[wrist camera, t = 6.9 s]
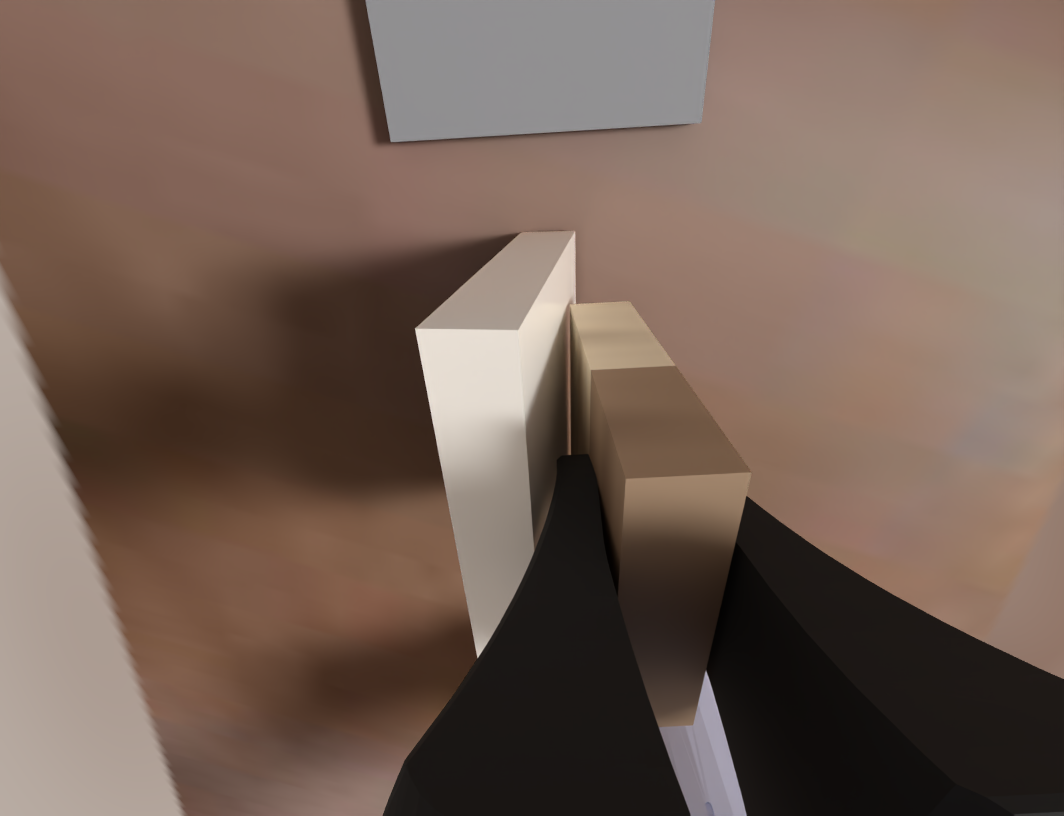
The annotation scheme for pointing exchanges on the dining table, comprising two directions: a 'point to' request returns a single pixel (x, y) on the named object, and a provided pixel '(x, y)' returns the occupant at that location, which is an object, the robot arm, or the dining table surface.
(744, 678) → the robot arm
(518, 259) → the tile
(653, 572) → the stepped beige block
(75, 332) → the dining table surface
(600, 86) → the mat
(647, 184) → the dining table surface
